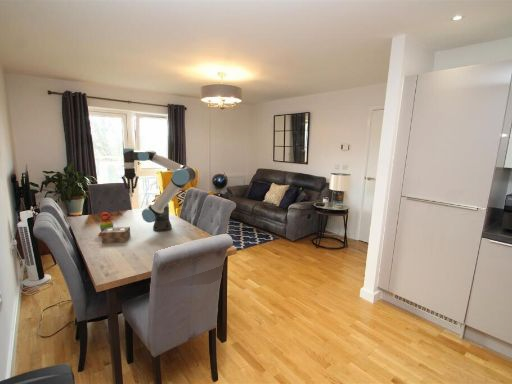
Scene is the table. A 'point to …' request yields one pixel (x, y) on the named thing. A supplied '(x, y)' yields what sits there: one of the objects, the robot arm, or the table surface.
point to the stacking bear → (105, 222)
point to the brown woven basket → (115, 235)
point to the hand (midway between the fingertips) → (131, 196)
